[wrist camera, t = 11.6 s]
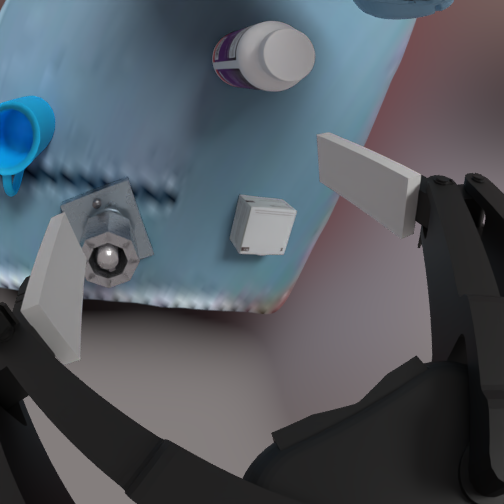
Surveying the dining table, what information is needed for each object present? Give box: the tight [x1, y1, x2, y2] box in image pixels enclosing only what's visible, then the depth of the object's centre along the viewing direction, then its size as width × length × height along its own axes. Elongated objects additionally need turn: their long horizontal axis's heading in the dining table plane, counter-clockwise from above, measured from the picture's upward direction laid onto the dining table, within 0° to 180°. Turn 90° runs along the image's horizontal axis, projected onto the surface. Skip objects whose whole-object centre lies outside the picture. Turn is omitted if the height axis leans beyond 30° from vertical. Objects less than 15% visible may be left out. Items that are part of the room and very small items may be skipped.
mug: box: [0, 96, 55, 197], centre depth 28 cm, size 12×8×8 cm
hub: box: [80, 211, 140, 288], centre depth 38 cm, size 7×7×6 cm
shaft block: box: [60, 177, 154, 272], centre depth 39 cm, size 12×10×9 cm
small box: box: [230, 194, 297, 256], centre depth 49 cm, size 8×8×5 cm
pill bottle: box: [212, 21, 315, 92], centre depth 31 cm, size 8×8×14 cm
